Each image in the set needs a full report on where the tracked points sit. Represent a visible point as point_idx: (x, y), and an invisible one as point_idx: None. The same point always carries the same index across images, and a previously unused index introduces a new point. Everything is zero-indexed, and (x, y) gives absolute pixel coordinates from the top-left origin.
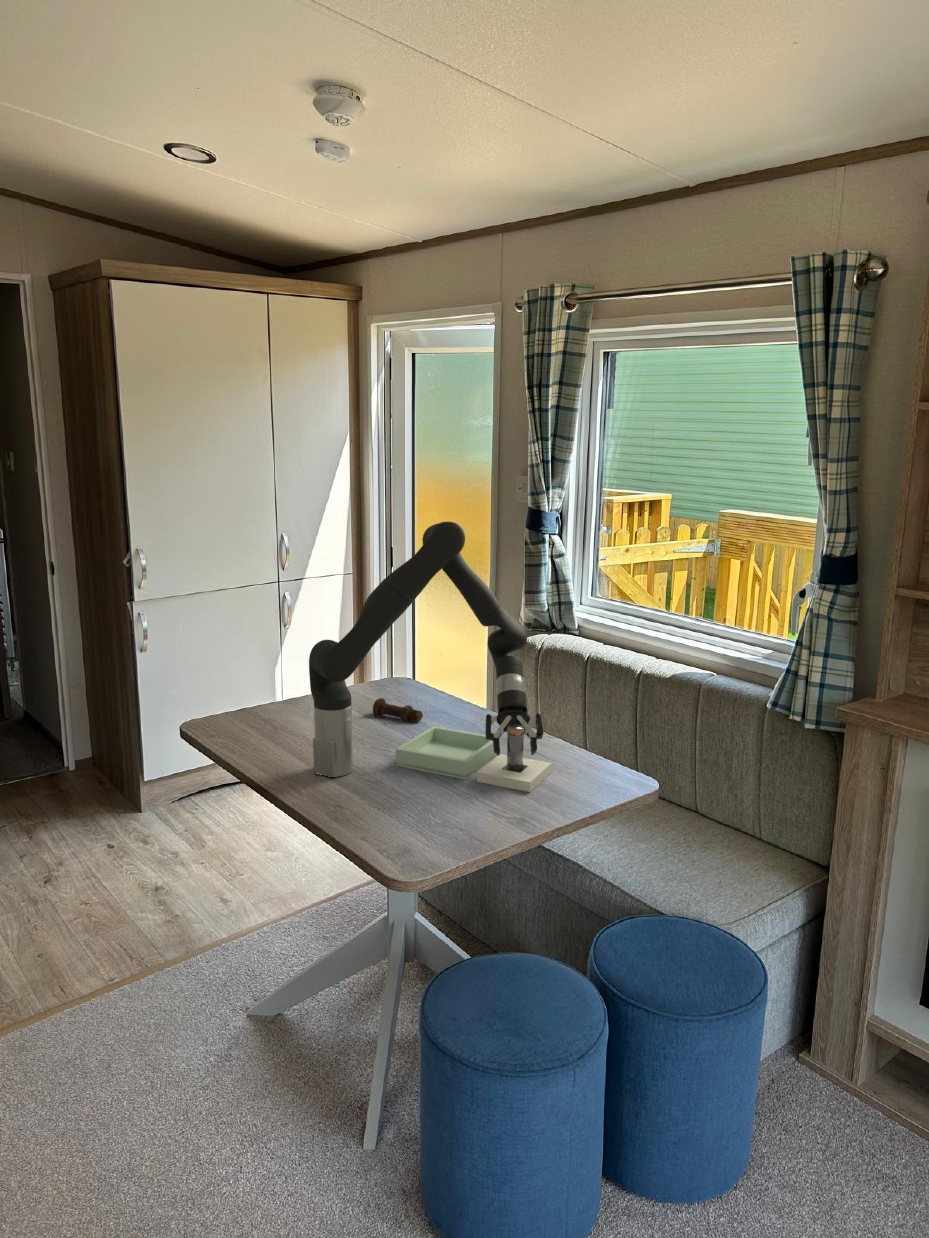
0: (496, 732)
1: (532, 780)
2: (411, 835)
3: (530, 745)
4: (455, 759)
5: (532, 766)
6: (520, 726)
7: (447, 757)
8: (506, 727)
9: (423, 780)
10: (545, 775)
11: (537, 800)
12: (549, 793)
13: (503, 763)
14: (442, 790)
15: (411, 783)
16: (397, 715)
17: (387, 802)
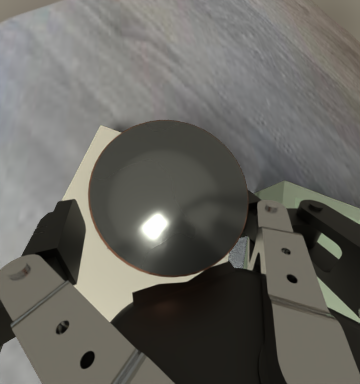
0: (284, 220)
1: (94, 138)
2: (262, 9)
3: (78, 257)
4: (314, 196)
5: (93, 245)
6: (128, 216)
7: (336, 207)
8: (251, 273)
9: (321, 178)
10: None
11: (88, 100)
12: (54, 136)
13: None
14: (276, 137)
15: (332, 162)
16: None
17: (328, 93)
